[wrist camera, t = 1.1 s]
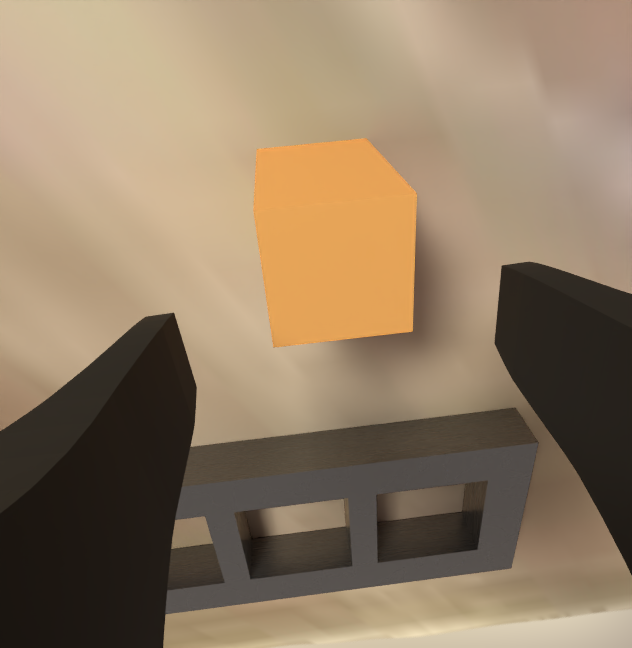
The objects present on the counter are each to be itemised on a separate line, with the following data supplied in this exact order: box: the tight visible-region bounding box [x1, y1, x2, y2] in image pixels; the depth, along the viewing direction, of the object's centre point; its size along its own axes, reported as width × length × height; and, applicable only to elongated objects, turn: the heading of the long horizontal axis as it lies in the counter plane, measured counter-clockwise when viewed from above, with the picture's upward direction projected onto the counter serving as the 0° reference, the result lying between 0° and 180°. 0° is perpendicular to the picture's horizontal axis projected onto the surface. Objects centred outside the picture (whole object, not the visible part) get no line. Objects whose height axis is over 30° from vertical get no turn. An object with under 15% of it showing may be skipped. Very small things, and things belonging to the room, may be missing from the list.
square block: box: [253, 138, 417, 347], centre depth 16 cm, size 4×4×7 cm
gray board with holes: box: [165, 408, 538, 614], centre depth 27 cm, size 24×10×2 cm, turn 94°
